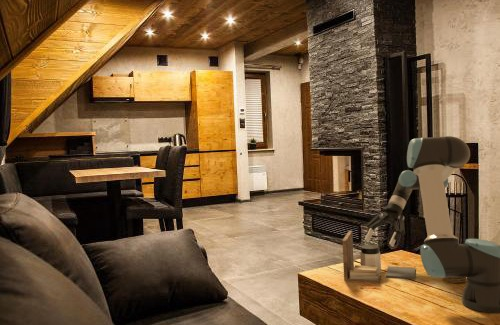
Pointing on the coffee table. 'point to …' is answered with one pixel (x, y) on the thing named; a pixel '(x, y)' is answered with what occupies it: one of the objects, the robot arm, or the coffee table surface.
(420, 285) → the coffee table surface
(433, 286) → the coffee table surface
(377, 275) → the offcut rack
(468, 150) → the robot arm
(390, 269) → the rubber mat
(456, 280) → the wooden mug
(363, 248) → the jar
